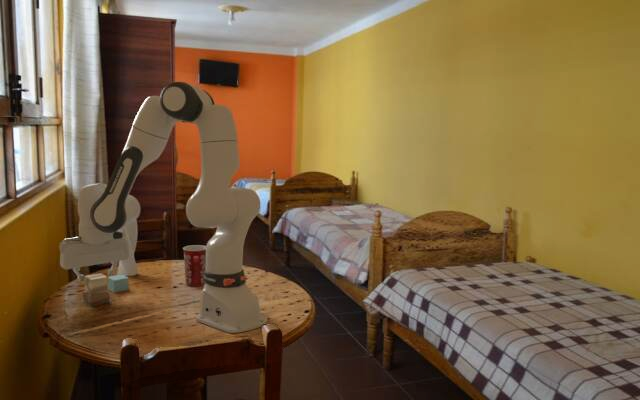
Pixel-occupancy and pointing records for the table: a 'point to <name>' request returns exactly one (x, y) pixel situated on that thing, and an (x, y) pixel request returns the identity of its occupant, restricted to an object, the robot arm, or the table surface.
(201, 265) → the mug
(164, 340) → the table surface
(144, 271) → the table surface
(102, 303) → the mat
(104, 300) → the walnut base
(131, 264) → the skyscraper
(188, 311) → the table surface
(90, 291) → the maple block
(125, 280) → the teal block
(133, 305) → the table surface
